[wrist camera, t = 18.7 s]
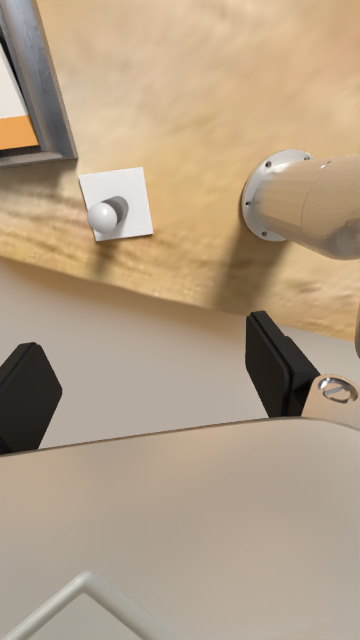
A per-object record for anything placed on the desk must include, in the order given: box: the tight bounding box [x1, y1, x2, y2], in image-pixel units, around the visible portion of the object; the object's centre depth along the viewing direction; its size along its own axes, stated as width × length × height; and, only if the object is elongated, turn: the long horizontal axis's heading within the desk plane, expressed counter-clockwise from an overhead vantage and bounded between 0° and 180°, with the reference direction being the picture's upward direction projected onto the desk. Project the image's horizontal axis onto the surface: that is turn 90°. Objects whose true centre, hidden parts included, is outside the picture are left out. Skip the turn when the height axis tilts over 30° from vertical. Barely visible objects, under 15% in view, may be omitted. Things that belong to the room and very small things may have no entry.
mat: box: [78, 167, 153, 241], centre depth 37 cm, size 9×9×1 cm
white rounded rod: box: [87, 196, 129, 233], centre depth 31 cm, size 3×3×12 cm
